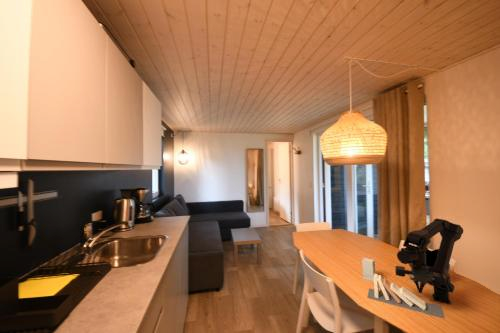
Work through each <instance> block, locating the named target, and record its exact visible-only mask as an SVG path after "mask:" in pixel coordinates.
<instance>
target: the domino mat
mask: <svg viewBox="0 0 500 333" xmlns="http://www.w3.org/2000/svg"><path fill="white" fill-rule="evenodd" d="M389 294H390V293H389ZM366 298H367V299H370V300H373V301H378V302H382V303H385V304H389V305H392V306H397V307H400V308H403V309H407V310H410V311H414V312H418V313H422V314H424V315H428V316H429V315H430V316H432V317H437V318H439V319H445V320H446V317H445V314H444V311H443V307H442V305H439V304H434V303H430V302H427V301H424V302H425V305H426V308H425V310H423V309H422V308H420V307H419V306H417V305H416V304H414V303H413V305H412V306H411V307H410V306H409V305H408V304H407V303H406V302H405V301H404V300H402V299H401V302H400V303H397V301H396V300H395V299H394V298H393V296H392V295H391V294H390V300H386V299H385V296H384V294H383V292H382V290H381V291H380V290H379V297H378V298H376V297H375V293H374V288H368V293H367V297H366Z"/></svg>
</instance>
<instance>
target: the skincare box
mask: <svg viewBox="0 0 500 333" xmlns="http://www.w3.org/2000/svg"><path fill="white" fill-rule="evenodd" d="M361 266H362V278H363V280H367V281H369V282H372V283H374V274H376V264H375V259H371V258H367V257H362V259H361Z"/></svg>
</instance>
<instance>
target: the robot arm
mask: <svg viewBox="0 0 500 333" xmlns="http://www.w3.org/2000/svg"><path fill="white" fill-rule="evenodd" d="M437 234H440V236H441V240H440V245H439V248H438V249H439V251H438V254H437V258H436V262H435V265H434V266H433V267H429V268H428V271H427V269H426V250H429V248H428V245H429V244H430V243H431V238H433V237H434V236H436V235H437ZM463 234H464V229H463V227H462V226H461V225H460V224H457V223H453V222H451V221H449V220H446V219H444V218H443V219H442V218H434V219H433V221H432V222H430V223H429V224H427V225H425V226H424V227H423V228H421V229H418V230H417V229H416V230H412V231H410V232H408V233H407V235H406V237H405V240H404V242H403V245H402V247H401V248H400V250H399V251H398V252H397V253H396V257H397V260H398V261H399V262H400V263H401V264H403V265H409V263H411V267H410V269H411V270H409V269H406V267H405V266H401V265H395V269H394V270H395V276H397V277H402V278H404V277H405V276H406V275H408V276H409V279H410V280H411V281H413V282H414V284H415V286H416V288H417V291H418V293H419V294H422V292H423V290H424V288H425V286H426V285H427V284H428V285H430V286H431V287H432V288H433V293H432V294H431V295H432V298H433V301H435V302H439V303H443V304H447V305H452V301H451V299H450V294H451V293H454V291H455V285H454V284H453V283H452V282H451V276H450V273H449V271H447V270H448V266H449V264H450V261H451V257H452V253H453V250H454V246H455V242H457V241H459V240H460V239H461V238H462V235H463ZM449 293H450V294H449Z"/></svg>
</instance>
